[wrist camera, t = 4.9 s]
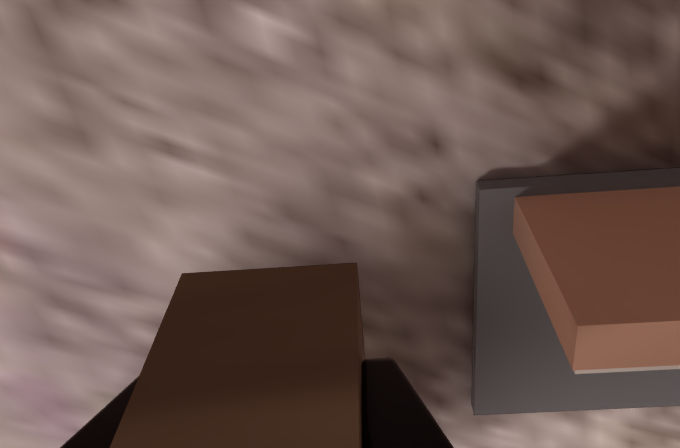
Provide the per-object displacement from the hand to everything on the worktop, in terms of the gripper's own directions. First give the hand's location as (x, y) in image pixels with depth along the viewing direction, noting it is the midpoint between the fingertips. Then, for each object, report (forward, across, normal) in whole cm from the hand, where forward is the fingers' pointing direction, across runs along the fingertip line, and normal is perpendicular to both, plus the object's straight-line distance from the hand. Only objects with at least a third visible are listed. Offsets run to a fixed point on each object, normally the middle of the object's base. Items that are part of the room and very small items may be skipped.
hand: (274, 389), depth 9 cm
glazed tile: (+10, -8, +4) cm, 14 cm away
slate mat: (+11, -8, +7) cm, 16 cm away
